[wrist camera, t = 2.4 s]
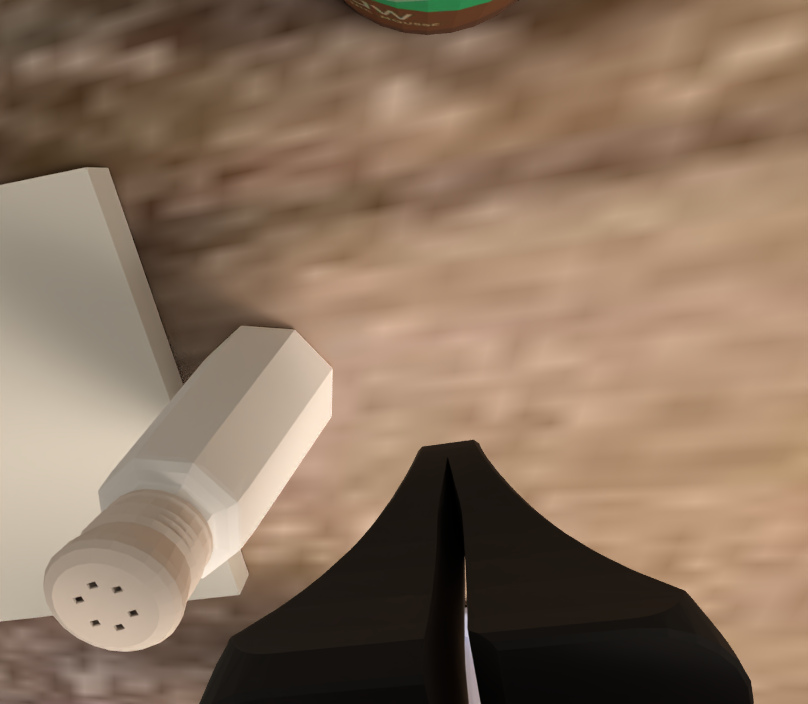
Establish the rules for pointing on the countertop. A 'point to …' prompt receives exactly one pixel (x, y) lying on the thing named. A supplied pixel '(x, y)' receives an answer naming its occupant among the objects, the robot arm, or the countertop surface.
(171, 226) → the countertop surface
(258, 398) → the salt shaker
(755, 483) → the countertop surface
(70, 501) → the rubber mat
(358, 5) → the food container
